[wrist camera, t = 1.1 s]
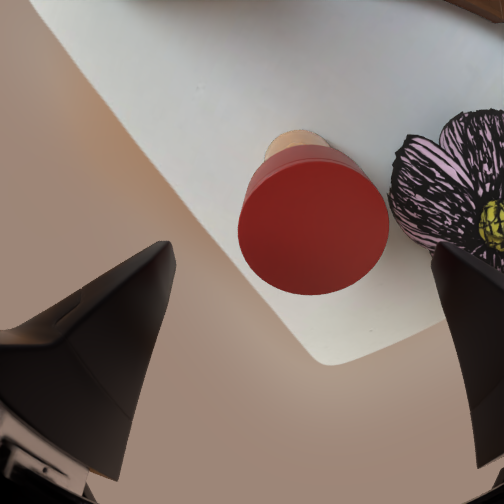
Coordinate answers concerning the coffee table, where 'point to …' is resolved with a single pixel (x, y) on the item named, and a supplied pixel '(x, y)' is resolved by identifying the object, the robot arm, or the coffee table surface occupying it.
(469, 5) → the tray
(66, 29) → the coffee table surface
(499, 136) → the decorative flower
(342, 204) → the jar lid
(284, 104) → the coffee table surface
